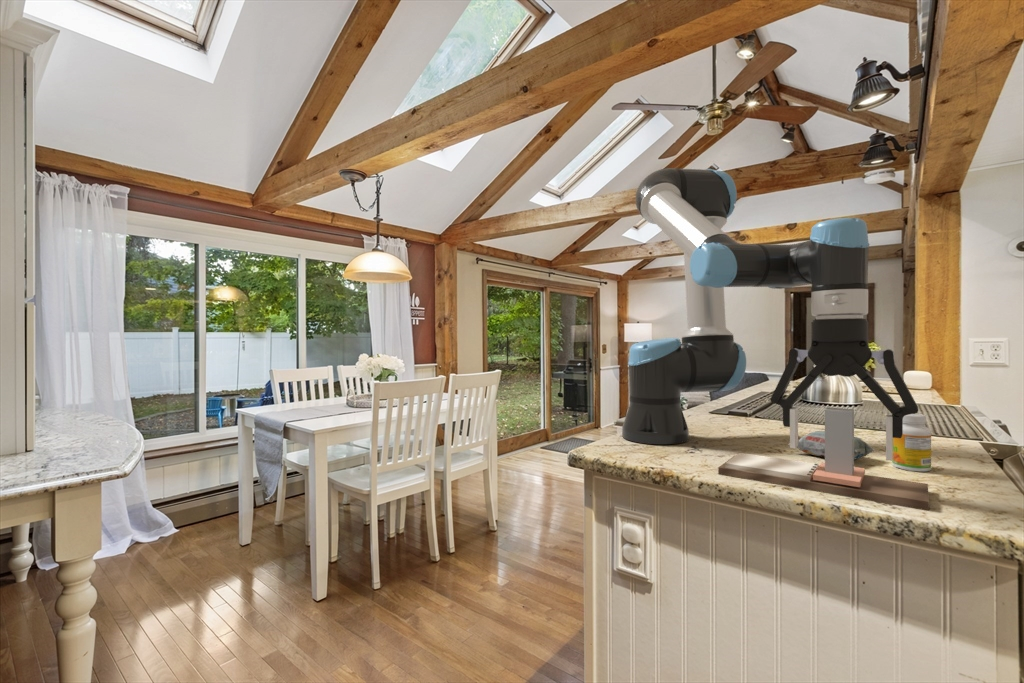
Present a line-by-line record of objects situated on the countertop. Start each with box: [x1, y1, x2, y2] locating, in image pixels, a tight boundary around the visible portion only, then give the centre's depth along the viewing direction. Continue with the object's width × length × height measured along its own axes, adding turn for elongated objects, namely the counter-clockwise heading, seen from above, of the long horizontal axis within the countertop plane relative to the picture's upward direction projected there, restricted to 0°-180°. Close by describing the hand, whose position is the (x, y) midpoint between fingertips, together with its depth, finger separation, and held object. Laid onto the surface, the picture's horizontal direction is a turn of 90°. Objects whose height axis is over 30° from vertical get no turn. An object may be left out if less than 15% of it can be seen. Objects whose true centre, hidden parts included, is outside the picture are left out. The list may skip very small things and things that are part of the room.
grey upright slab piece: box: [813, 406, 866, 487], centre depth 77 cm, size 6×9×11 cm, turn 140°
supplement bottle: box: [892, 412, 932, 473], centre depth 86 cm, size 5×5×10 cm
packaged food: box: [787, 430, 876, 460], centre depth 95 cm, size 9×12×5 cm
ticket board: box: [717, 452, 930, 511], centre depth 79 cm, size 28×10×2 cm, turn 50°
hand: (839, 452), depth 77 cm, fingers open, 12 cm apart
